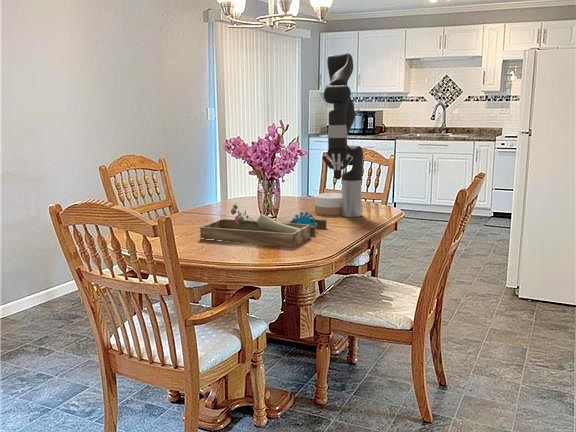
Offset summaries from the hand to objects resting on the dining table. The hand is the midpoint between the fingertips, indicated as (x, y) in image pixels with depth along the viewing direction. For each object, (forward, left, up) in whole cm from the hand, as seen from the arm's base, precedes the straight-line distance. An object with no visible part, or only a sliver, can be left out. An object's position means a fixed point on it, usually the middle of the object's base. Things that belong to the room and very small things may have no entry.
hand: (337, 179), depth 234 cm
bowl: (-45, -17, -23) cm, 53 cm away
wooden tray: (+20, -28, -22) cm, 41 cm away
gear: (+1, -14, -23) cm, 27 cm away
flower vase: (+16, -26, -23) cm, 38 cm away
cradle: (0, -14, -22) cm, 26 cm away
